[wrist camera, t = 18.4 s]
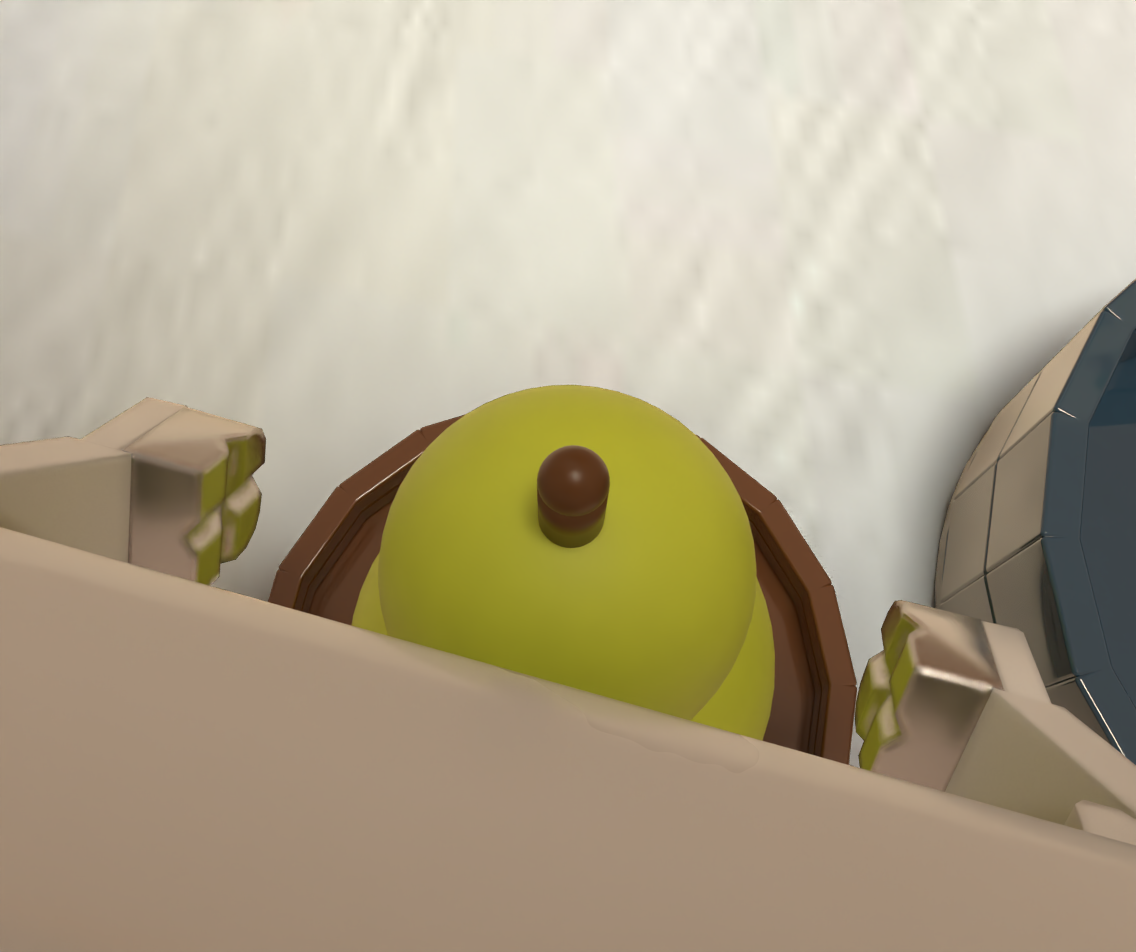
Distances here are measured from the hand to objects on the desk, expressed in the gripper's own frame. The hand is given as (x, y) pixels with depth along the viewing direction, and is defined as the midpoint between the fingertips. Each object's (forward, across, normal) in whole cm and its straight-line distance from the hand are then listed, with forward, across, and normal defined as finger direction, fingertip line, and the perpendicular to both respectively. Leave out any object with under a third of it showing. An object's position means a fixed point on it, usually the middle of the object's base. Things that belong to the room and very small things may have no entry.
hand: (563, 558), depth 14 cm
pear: (+4, 0, +5) cm, 7 cm away
